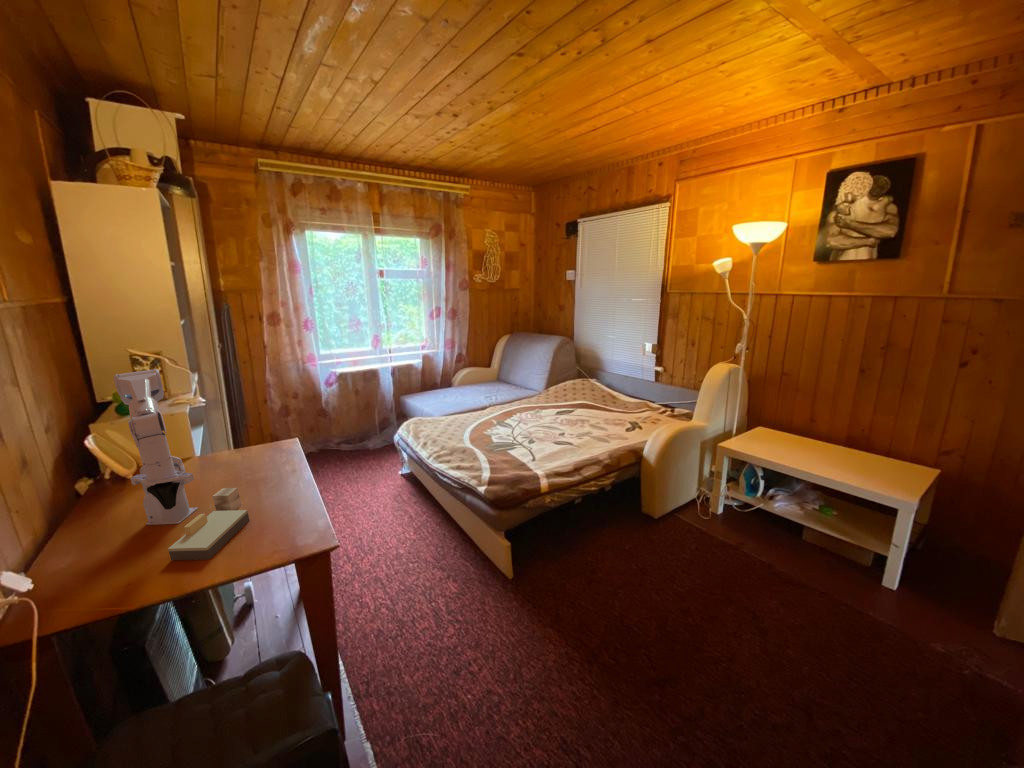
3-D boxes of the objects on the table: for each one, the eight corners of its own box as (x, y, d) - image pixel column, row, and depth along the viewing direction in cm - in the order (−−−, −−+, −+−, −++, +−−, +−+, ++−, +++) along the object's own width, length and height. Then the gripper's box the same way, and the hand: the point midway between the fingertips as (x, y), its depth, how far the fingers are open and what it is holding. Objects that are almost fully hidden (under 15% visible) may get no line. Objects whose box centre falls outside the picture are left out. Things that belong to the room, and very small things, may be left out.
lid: (168, 551, 104) (165, 539, 103) (214, 513, 120) (211, 503, 119) (207, 550, 104) (204, 538, 103) (247, 512, 120) (245, 502, 119)
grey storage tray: (171, 560, 105) (168, 551, 104) (216, 521, 121) (214, 513, 120) (209, 559, 105) (207, 550, 104) (249, 520, 121) (247, 512, 120)
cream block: (217, 514, 124) (212, 496, 123) (226, 505, 129) (222, 488, 127) (232, 513, 124) (227, 495, 123) (241, 505, 129) (237, 487, 127)
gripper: (114, 468, 102) (129, 516, 106) (173, 466, 102) (186, 515, 106) (138, 455, 109) (152, 501, 113) (194, 453, 109) (206, 500, 113)
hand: (170, 507), depth 110 cm, fingers closed
